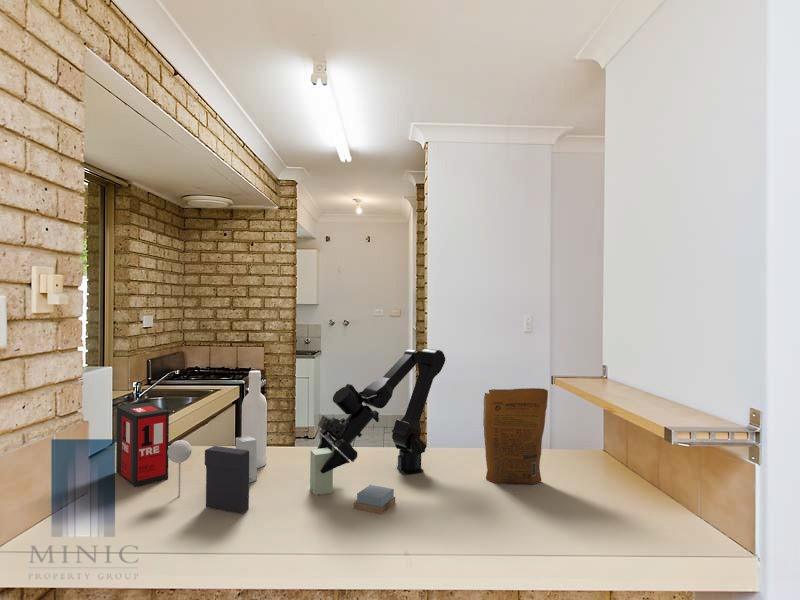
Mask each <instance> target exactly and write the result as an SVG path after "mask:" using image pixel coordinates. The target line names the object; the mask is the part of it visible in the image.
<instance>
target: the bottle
mask: <svg viewBox="0 0 800 600" xmlns="http://www.w3.org/2000/svg"><path fill="white" fill-rule="evenodd" d="M261 373H262V372H261V371H260V370H250V371H249V372H248V393H247V394H246V395H245V396H244V398H243V400H242V403H241V437H243V436H250V437H252V438H254V439H256V453H257V469H260V468H263V467H265V466H266V465H267V459H268V458H267V457H268V456H267V441H268V440H267V438H268V437H267V436H268V435H267V433H268V432H267V431H268V429H267V427H268V425H267V423H268V422H267V421H268V413H267V412H268V403H267V399H266V396H265V395H264V394H262V392H261V384H262V383H261V382H262V381H261V378H262V374H261Z"/></svg>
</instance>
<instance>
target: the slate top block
mask: <svg viewBox="0 0 800 600" xmlns="http://www.w3.org/2000/svg"><path fill="white" fill-rule="evenodd" d="M394 489H395V488H391V487H386V486H380V485H374V484H369V485H368V486H366V487H365V488H363V489H361V490H360V491H359V492H358V493H356V494H357V495H356V500H357V502H358V503H363V504H368V505H373V506H378V507H382V506H384V505H385V504H386V503H387V502H389V501H390V500H391V499H392V498H393V497H395V496H394V495H395V494H394V493H395V492H394V491H395V490H394Z"/></svg>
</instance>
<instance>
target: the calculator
mask: <svg viewBox="0 0 800 600" xmlns="http://www.w3.org/2000/svg"><path fill="white" fill-rule="evenodd" d="M204 465H205V507H206V508H208V509H212V510H218V511H224V512H229V513H234V514H240V515H241V514H243V513H244V512H246V511H248V510H249V508H250V507H249V506H250V505H249V504H250V482H249V451H248V450H242V449H236V447H234V448H233V447H227V446H226V447H225V446H220V445H219V446H218V445H213V446H210V447H209V448H206V449H205V450H204Z"/></svg>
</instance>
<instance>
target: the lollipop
mask: <svg viewBox="0 0 800 600" xmlns="http://www.w3.org/2000/svg"><path fill="white" fill-rule="evenodd" d="M191 445H192V444H190V443H189V441H186V440H184V439H183V440H182V439H180V440H175V441H173V442H172V443H171V444H170V446H168V452H167V453H168V460H170V461H171V462H173V463H175V464H178V484H177V485H178V490H177V491H178V492H177V494H178V495H177V497H179V498H180V497H181V469H182V468H181V466H182V464H181V463H184V462H186V461H187V460H188V459H189V458H190V457H191V455H192V452H193V450H192V449H193V448H192V446H191Z"/></svg>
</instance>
